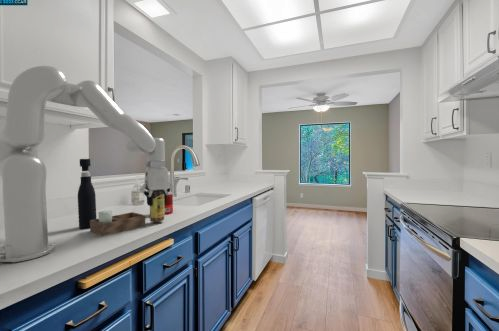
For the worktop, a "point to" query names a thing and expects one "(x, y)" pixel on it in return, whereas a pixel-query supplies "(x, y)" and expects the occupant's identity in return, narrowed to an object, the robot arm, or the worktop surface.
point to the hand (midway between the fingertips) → (157, 203)
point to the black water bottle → (86, 197)
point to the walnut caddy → (117, 224)
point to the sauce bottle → (157, 206)
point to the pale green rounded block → (105, 217)
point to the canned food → (169, 204)
